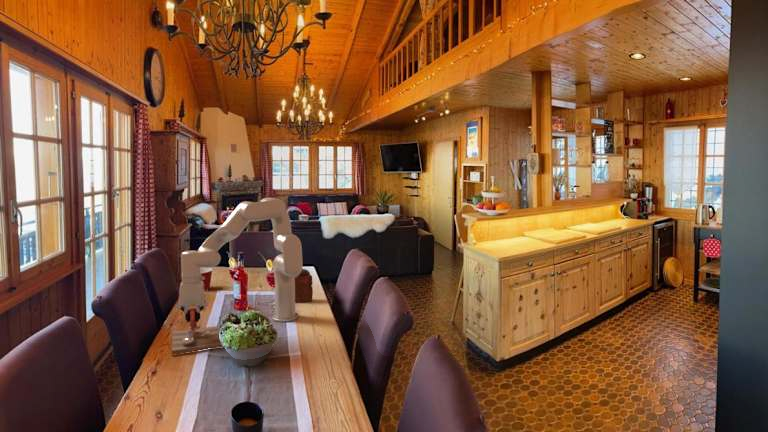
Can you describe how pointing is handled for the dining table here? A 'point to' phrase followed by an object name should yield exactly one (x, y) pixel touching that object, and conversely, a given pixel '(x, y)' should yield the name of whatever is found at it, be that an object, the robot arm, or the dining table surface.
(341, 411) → the dining table surface
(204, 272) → the plastic cup
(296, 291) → the wooden figurine
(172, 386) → the dining table surface
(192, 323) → the lever
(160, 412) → the dining table surface
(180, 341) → the lever board
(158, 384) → the dining table surface
